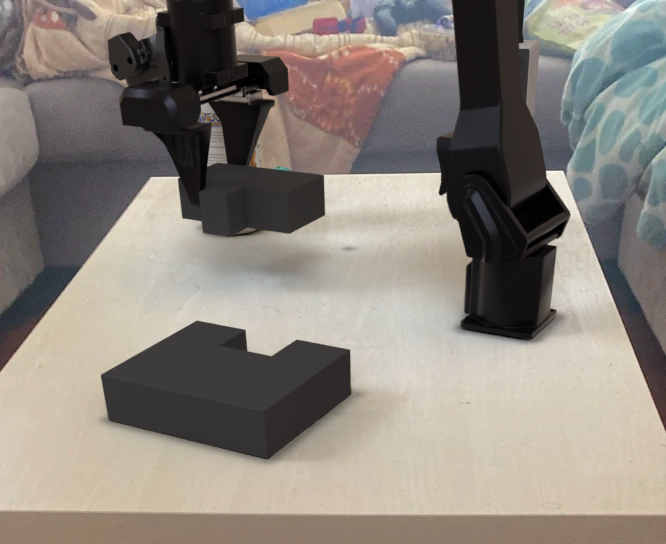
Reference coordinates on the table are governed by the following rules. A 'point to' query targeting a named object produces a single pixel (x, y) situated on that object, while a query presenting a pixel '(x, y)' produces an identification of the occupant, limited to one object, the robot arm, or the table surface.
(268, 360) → the charcoal pad
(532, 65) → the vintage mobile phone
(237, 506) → the table surface
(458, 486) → the table surface
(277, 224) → the black t-shaped block
